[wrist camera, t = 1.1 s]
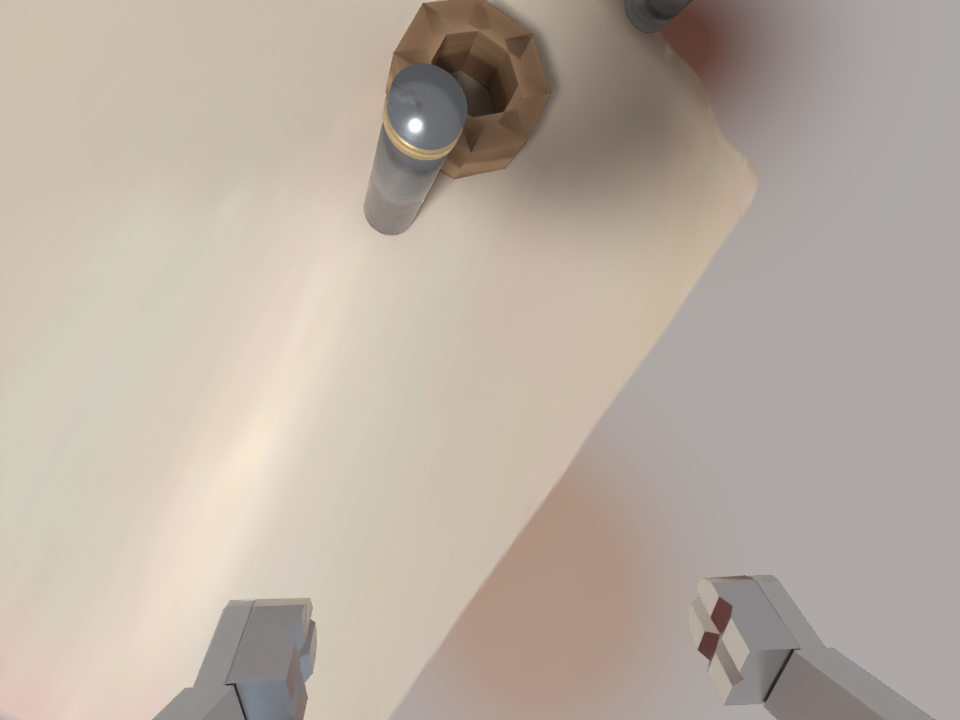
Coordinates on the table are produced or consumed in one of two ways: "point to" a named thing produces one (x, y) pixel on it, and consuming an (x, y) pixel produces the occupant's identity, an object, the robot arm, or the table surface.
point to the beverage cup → (653, 12)
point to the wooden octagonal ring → (480, 77)
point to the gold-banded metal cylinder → (413, 144)
